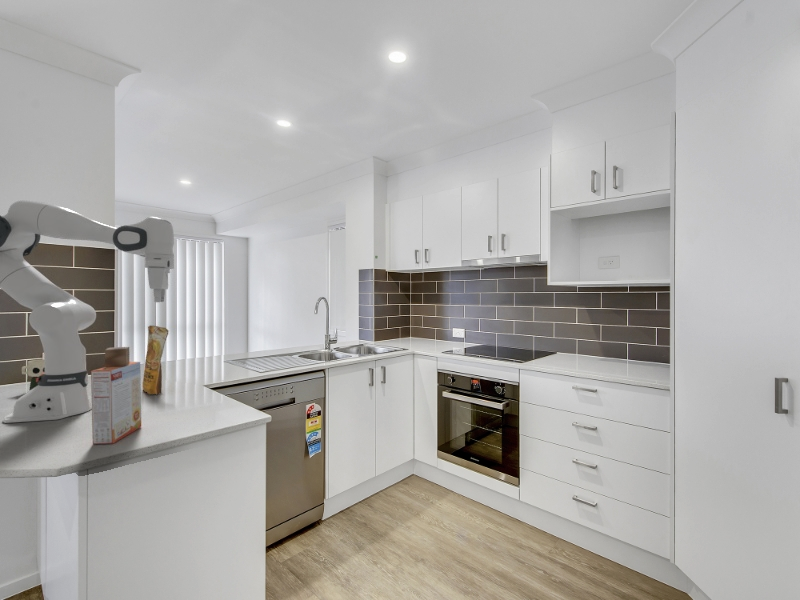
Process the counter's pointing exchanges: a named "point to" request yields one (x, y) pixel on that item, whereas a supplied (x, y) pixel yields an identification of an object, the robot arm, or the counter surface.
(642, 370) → the counter surface
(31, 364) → the character mug
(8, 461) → the counter surface
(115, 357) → the walnut cube
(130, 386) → the cracker box
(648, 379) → the counter surface
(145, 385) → the pancake mix bag
